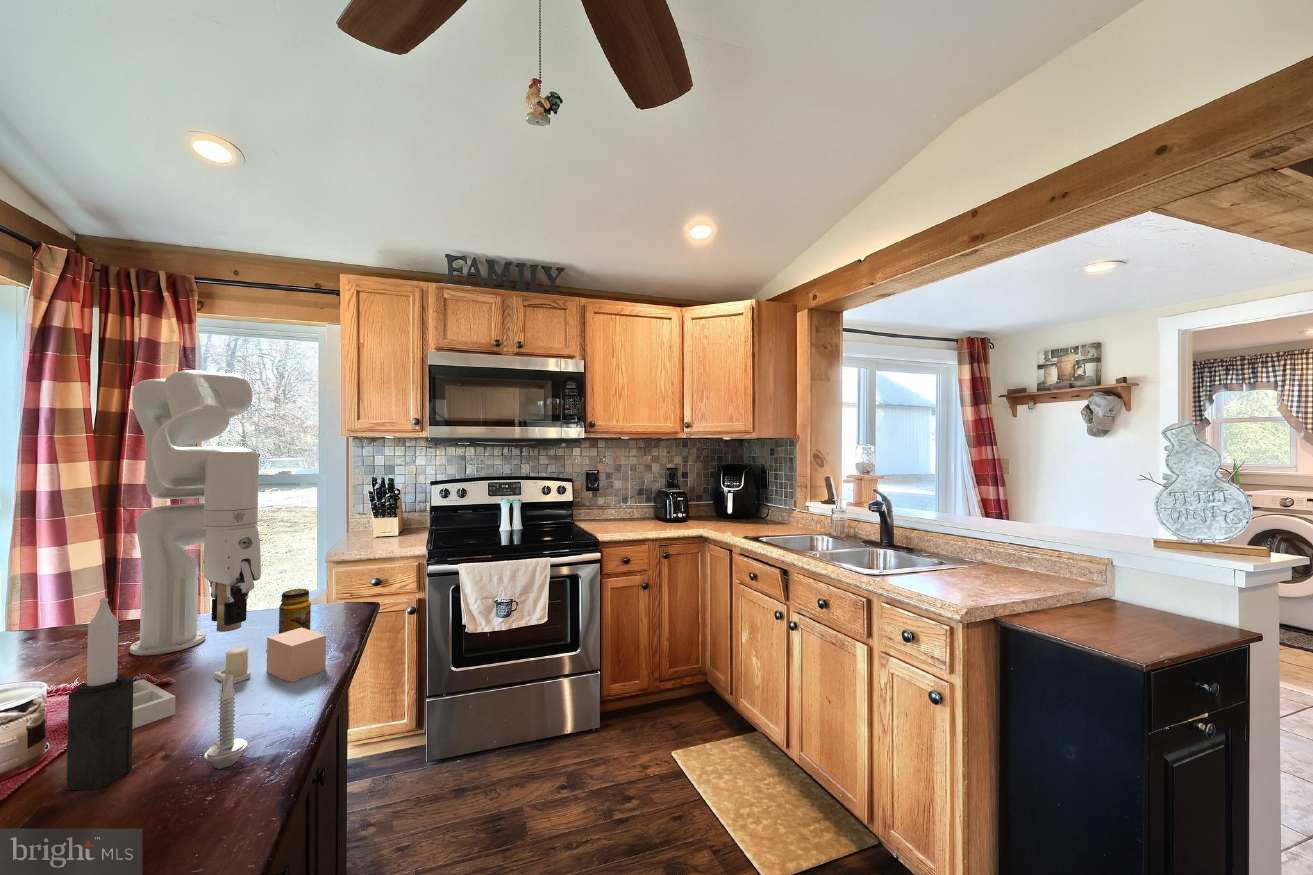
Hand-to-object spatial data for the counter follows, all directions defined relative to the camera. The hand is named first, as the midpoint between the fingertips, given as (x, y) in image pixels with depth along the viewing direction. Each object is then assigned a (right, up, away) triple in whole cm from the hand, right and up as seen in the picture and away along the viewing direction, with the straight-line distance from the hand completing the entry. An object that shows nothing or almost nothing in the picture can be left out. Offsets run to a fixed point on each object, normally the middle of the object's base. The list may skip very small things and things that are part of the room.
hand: (228, 620), depth 94 cm
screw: (+13, -15, -17) cm, 27 cm away
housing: (+3, -15, +13) cm, 20 cm away
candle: (-1, -15, -21) cm, 26 cm away
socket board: (-13, -15, -4) cm, 20 cm away
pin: (0, -1, 0) cm, 1 cm away
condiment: (-8, -15, +27) cm, 32 cm away
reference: (-7, -15, +10) cm, 19 cm away
